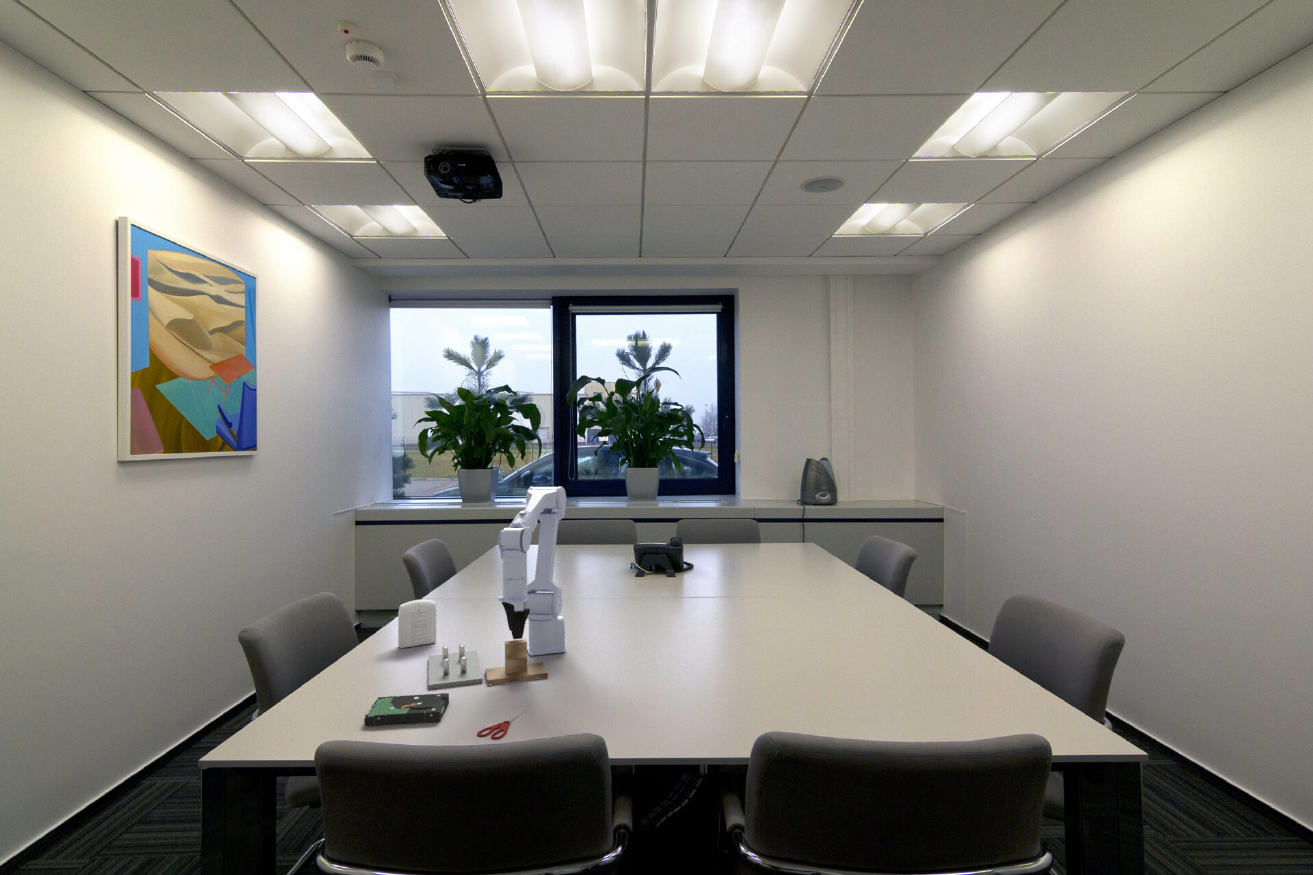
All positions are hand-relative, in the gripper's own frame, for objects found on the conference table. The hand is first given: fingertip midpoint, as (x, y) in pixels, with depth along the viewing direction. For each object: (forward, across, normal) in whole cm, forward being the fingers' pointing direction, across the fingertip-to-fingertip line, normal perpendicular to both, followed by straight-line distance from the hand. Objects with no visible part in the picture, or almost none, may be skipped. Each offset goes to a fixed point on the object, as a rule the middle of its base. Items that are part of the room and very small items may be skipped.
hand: (515, 634), depth 162 cm
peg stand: (+10, -9, -14) cm, 19 cm away
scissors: (+11, +27, -5) cm, 29 cm away
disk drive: (+11, +15, -24) cm, 30 cm away
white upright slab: (+10, -35, -23) cm, 43 cm away
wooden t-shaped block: (+10, 0, 0) cm, 10 cm away
